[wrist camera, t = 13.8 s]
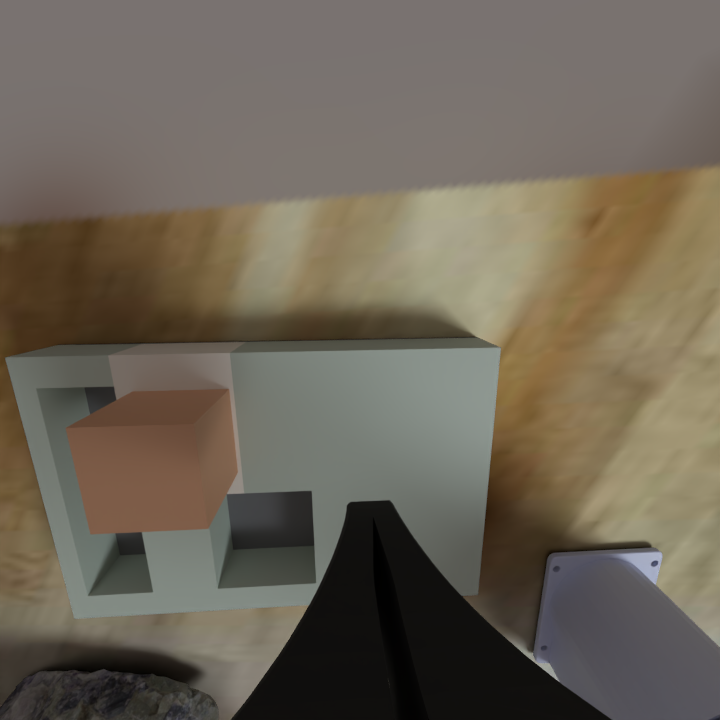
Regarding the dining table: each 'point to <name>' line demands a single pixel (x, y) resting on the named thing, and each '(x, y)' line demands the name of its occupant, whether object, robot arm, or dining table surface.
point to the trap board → (273, 462)
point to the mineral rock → (105, 698)
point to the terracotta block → (155, 460)
